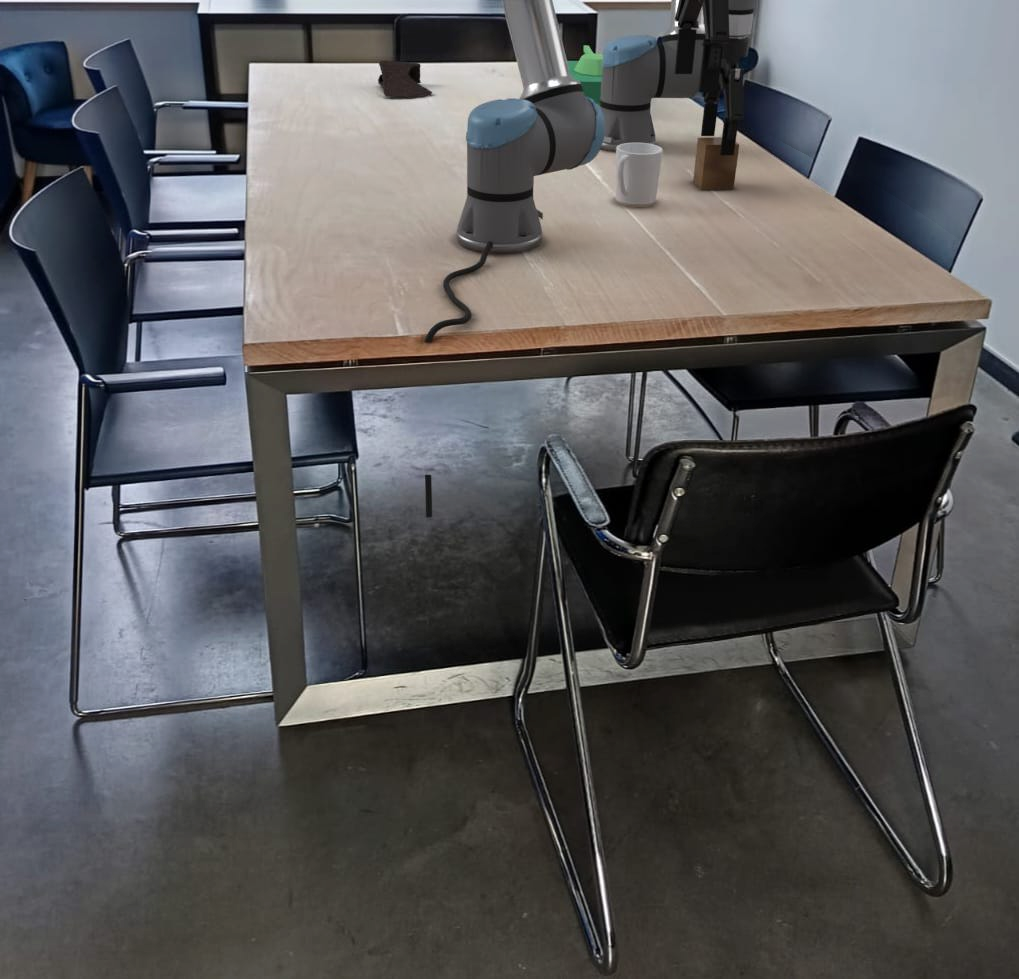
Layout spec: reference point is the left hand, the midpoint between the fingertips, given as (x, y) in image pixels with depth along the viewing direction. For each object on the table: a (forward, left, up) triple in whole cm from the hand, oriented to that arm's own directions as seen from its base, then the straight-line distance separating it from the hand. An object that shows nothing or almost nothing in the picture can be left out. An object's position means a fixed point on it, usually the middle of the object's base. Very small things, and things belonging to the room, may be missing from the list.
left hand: (695, 82), depth 168 cm
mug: (+38, +8, -30) cm, 49 cm away
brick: (+54, -8, -30) cm, 62 cm away
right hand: (+54, -8, -22) cm, 59 cm away
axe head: (+129, +74, -30) cm, 152 cm away
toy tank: (+127, +22, -30) cm, 132 cm away
